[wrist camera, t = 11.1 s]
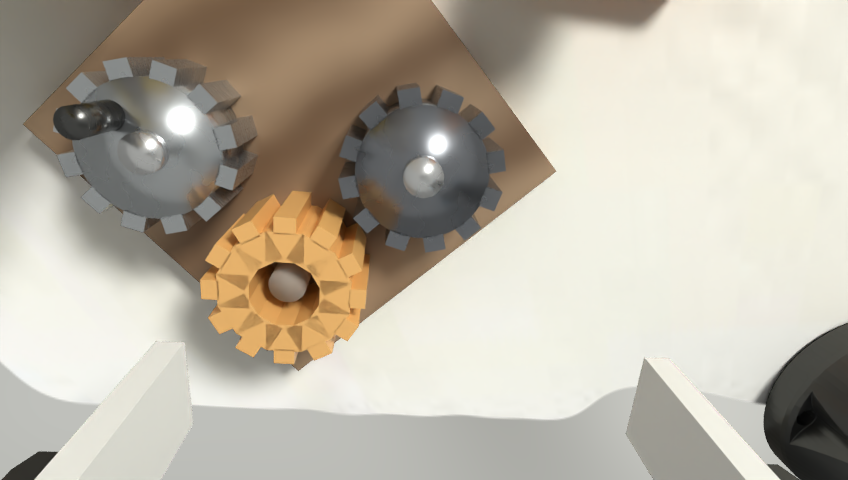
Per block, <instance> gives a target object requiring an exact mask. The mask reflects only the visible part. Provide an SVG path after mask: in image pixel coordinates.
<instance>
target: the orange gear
mask: <svg viewBox="0 0 848 480" xmlns="http://www.w3.org/2000/svg"><path fill="white" fill-rule="evenodd" d="M311 196H312V192H302V191H292V192H291V193H290V195H289V196H288V198H287V199H286V200H285V202H284V203H283V204H282V206H280V204H279V202H278V201H277V199H276V197H275V195H274V194H273V195H270V196H268V197H266V198H264V199H262V200H260V201H258V202H256V203H255V205H254V206H253V207H252V208H251V209H250V210H249V211H248V212H247V213H246V214H243V215H242V216H241V217H240V218H239V219H238V220H237V221H236V222H235V223H234V224H233V225H232V226H231V227H230V229H229V230H228V231H227V232H226V233H225V234H224V235H223V236H222V237H221V238H220V239H219V240H218V241H217V242H216V244H215V245H214V247H213V248H212V250H211V252H210V253H209V255H208V256H207V258H206V260H205V261H207V262H208V263H210V264H212V266H211V267H210V269H209V270H208V271H207V272H206V273H205V274H204V276H203V277H202V278H201V279H200V286H201V299H209V300H217V306H216V307H215V308H214V310H213V311H212V313H211V314H210V316H209V317H208V319H209V320H210V321H211V323H212V324H213V326H214V327H215V329H216V330H217V331H218V333H219V334H221V333H223V332H226V331H228V330H230V329H233V330H234V331H235V332H236V334H238V335H240V336H241V338H240V340H239V342H238V344H237V345H236V347H235V348H236V349H238V350H240V351H242V352H244V353H246V354H248V355H250V356H252V357H253V358H254V356H255V355H256V353H257V352H258V350H259V349H260V348H261V347H262V348H264V349H266V350H274V363H282V364H294V363H295V360H296V357H297V354H298V352H302V351H304V350H308V352H309V353H310V355H311V356H312V358H313V360H314V361H315V360H317V359H319V358H322V357H324V356H326V355H329V354H331V353H332V351H333V346H334V341H335V336H336V335H337V336H339V337H341V338H342V339H344V340H346V341H348V340H349V338H350V337H351V336H352V334H353V333H354V332H355V330H356V329H357V328H358V326H359V319H360V311H361V309H365V305H366V296H367V286H368V277H369V266H370V254H364V253H365V246H366V239H367V238H366V236H365V234H364V232H363V230H362V228H361V226H360V225H359V224H358V223H356V224H354V225H351V226H349V227H347V228H346V226H345V224H344V222H342V220H343V217H344V213H345V210H346V208H344V207H342V206H341V205H339V204H338V203H336V202H335V201H333V200H332V199H329V201H328V202H327V204H326V205H325V207H324V208H323V209H322V208H320V207H318V206H312V205H311ZM274 262H282V263H295V264H296V265H298V266H300V267H301V268H303V269H305V270H306V271H308V272H310V273H311V274H312V276H313V278H314V279H315V281H316V282H314V283H312V284H310V285H308V286H307V289H306V291H305V294H304V295H303V296H302V297H301V298H300V299H299V300H297V301H294V302H283V301H280V300H278V299H277V298H275V297H274V296H273V295H272V293H271V292H270V290H269V285H268V284H269V279H270V277H271V275H272V273H273V271H274V267H273V266H272V263H274Z"/></svg>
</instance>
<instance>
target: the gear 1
mask: <svg viewBox="0 0 848 480" xmlns="http://www.w3.org/2000/svg"><path fill="white" fill-rule="evenodd" d="M102 62H103V64H104V67H105V70H106V71H93V72H81V73H80V74H79V75H78V76H77V77H76V78H75V79H74V80H73V81H72V82H71V83H70V84H69V85H68V87H67V88H66V89H67V90H68V91H69V92H70V93H71V94H72V95H73V96H74V97H75V98H77V99H78V100H79V101H80V102H81V103H80V104H73V105H67V106H62V107H60V108H57V109H56V111H55V113H54V115H53V123H54V127H53V132H56V133H59V134H61V135H62V136H63V137H65V138H67V139H69V140H72V143H73V149H74V150H71V151H68V152H65V153H61V154H58V155H57V157H58V160H59V162H60V164H61V167H62V169H63V171H64V174H65V176H66V177H70V176H76V175H82V174H83V175H84V176H85V178H86V179H87V181H88V182H89V183H90V184H91V186H92V187H91V188H90V189H89V190H88V191H87V192H86V193H85V194H84V195H83V196H82V197H81V198H82V199H83V200H84V201H85V202H87V203H88V204H89V205H90V206H91V207H92V208H93V209H95V210H96V211H97V212H98V213H99V214H100V213H102V212H103V211H105V210H107V209H109V208H111V207H113V206H116V207H118V208H120V209H122V210H124V211H123V217H122V222H121V226H123V227H127V228H130V229H133V230H136V231H140V232H145V231H146V230H148V229H149V228H150V227H152V226H153V225H155V224H156V223H157V222H159V221H160V220H161V222H162V224H163V227H164V230H165V233H166V234H170V233H176V232H182V231H187V230H189V229H190V228H191V227H192V226H193V225H194V224H196V223H197V222H198V221H199V220H200V219H201V218H203V219H204V220H205V221H206V222H207V221H208V220H209V219H210V218H211V217H212V216H213V215H214V214H216V213H217V212H218V211H219V210H220V209H221V208H222V207H223V206H225V205H226V204H227V203H228V202H229V201H230V200H231V199H232V198H233V197H235V196H236V195H237V194H238V193H239V192H240V191H241V190H242V189H243V187H242V186H241V185H240V184H241V183H242V182H243V181H244V180H245V179H247V178H248V177H249V176H250V175H251V174H252V173H253V172H254V168H255V164H256V161H257V157H258V155H257V154H254V153H251V152H248V151H246V150H243V144H244V143H245V142H247V141H249V140H250V139H252V138H254V137H255V136H257V135H258V134H257V130H256V127H255V123H254V120H253V116H252V115H250V116H245V117H239V118H237V117H236V115H235V113H234V111H233V109H232V108H231V105H232V104H234V103H235V102H236V101H237V100H238V99H239V98H240V97H241V95H240V94H239V93H238V92H237V91H236V90H235V89H234V87H233V86H232V85H231V84H230V83H229V82H228V81H227V80H221V81H214V82H208V83H204V79H205V75H206V70H207V67H206V66H203V65H201V64H198V63H195V62H193V61H190V60H187V59H168V60H165V58H164V57H125V58H119V59H113V60H108V61H102Z"/></svg>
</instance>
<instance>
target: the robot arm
mask: <svg viewBox="0 0 848 480" xmlns="http://www.w3.org/2000/svg"><path fill="white" fill-rule="evenodd" d="M192 425H193V417H192V408H191V398H190V389H189V379H188V369H187V360H186V350H185V342H167V341H156V342H155V343H154V344H153V345H152V346H151V348H150V349H149V350H148V351H147V352H146V353H145V354H144V355H143V357H142V358H141V359H140V360H139V361H138V362H137V363H136V365H135V366H134V367H133V368H132V369H131V370H130V371H129V373H128V374H127V375H126V376H125V377H124V378H123V379H122V380H121V382H120V383H119V384H118V385H117V386H116V387H115V388H114V390H113V391H112V392H111V393H110V394H109V395H108V396H107V398H106V399H105V400H104V401H103V402H102V403H101V404H100V405H99V407H98V408H97V409H96V410H95V411H94V413H92V415H91V416H90V417H89V418H88V419H87V420H86V421H85V423H84V424H83V425H82V426H81V427H80V428H79V429H78V431H77V432H76V433H75V434H74V435H73V436H72V437H71V438H70V440H69V441H68V442H67V443H66V444H65V445H64V447H63V448H62V449H61V450H60V451H59V452H37V453H36V454H34V455H33V456H31V457H30V458H28V459H27V460H25V461H24V462H22V463H21V464H19V465H17V466H16V467H14V468H13V469H11V470H10V471H9V472H8V474H7V475H6V476H5V477H4V478H3V479H2V480H161V479H162V477H163V476H164V474H165V472H166V470H167V469H168V467H169V465H170V463H171V462H172V460H173V458H174V456H175V455H176V453H177V451H178V450H179V448H180V446H181V444H182V442H183V441H184V439H185V437H186V436H187V434H188V432H189V430H190V429H191V427H192ZM764 432H765V436H766V439H767V442H768V444H769V446H770V448H771V449H772V451H773V452H774V454H775V455H776V456H777V457H778V458H779V459H780V460H781V461H782V462H783V463H784V464H785V465H786V466H787V467H788V468H789V469H790V470H791V471H792V472H793V473H794V474H795V476H797V477H798V478H799V479H800V480H848V324H846V325H843V326H841V327H839V328H837V329H834V330H833V331H831V332H829V333H827V334H825V335H824V336H822V337H820V338H819V339H817V340H816V341H814V342H813V343H812V344H810V345H809V346H808V347H806V348H805V349H804V350H803V351H802V352H801V353H799V354H798V355H797V356H796V357H795V358H794V359H793V360H792V361H791V362H790V364H789V365H788V366H787V367H786V368H785V369H784V371H783V372H782V373H781V375H780V376H779V378H778V379H777V381H776V383H775V384H774V386H773V388H772V390H771V392H770V395H769V397H768V400H767V403H766V407H765V412H764ZM626 435H627V437H628V438H629V440H630V442H631V443H632V445H633V447H634V448H635V450H636V452H637V453H638V455H639V456H640V458H641V460H642V462H643V463H644V465H645V466H646V468H647V470H648V471H649V473H650V475H651V476H652V478H653V480H799V479H798V478H796V477H795V476H793V475H792V474H790V473H789V472H788V471H786V470H785V469H783V468H782V467H780V466H779V465H774V464H773V465H770V464H765V462H764V461H763V460H762V459H761V458H760V457H759V456H758V455H757V454H756V453H755V451H754V450H753V449H752V448H751V447H750V446H749V445H748V444H747V443H746V442H745V440H744V439H743V438H742V437H741V436H740V435H739V434H738V433H737V432H736V431H735V429H734V428H733V427H732V426H731V425H730V424H729V423H728V422H727V421H726V420H725V418H724V417H723V416H722V415H721V414H720V413H719V412H718V411H717V410H716V409H715V408H714V406H712V404H711V403H710V402H709V401H708V400H707V399H706V398H705V397H704V396H703V394H702V393H701V392H700V391H699V390H698V389H697V388H696V387H695V386H694V384H693V383H692V382H691V381H690V380H689V379H688V378H687V377H686V376H685V375H684V374H683V372H682V371H681V370H680V369H679V368H678V367H677V366H676V365H675V364H674V363H673V361H672V360H671V359H670V358H647V357H644V361H643V365H642V369H641V373H640V377H639V381H638V386H637V390H636V394H635V398H634V402H633V406H632V410H631V415H630V419H629V423H628V427H627V431H626Z"/></svg>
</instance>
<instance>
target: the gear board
mask: <svg viewBox="0 0 848 480" xmlns="http://www.w3.org/2000/svg"><path fill="white" fill-rule="evenodd" d="M125 57H164V58H165V60H168V59H187V60H190V61H193V62H195V63H198V64H201V65H203V66H206V67H207V70H206V75H205V79H204V83H208V82H214V81H221V80H227V81H228V82H229V83H230V84H231V85H232V86H233V87H234V89H235V90H236V91H237V92H238V93H239V94H240V95H241V97H240V98H239V99H238V100H237V101H236V102H235V103H234V104H232V105H231V108H232V109H233V111H234V113H235V115H236V117H237V118H239V117H245V116H250V115H252V116H253V120H254V123H255V127H256V130H257V134H258V135H257V136H255V137H254V138H252V139H250V140H249V141H247V142H245V143H244V144H243V150H246V151H248V152H251V153H254V154H257V155H258V157H257V161H256V164H255V168H254V172H253V173H252V174H251V175H250V176H249V177H248V178H247V179H245V180H244V181H243V182H242V183H241V184H240V185H241V186H242V187H243V189H242V190H241V191H240V192H239V193H238V194H237V195H236V196H235V197H233V198H232V199H231V200H230V201H229V202H228V203H227V204H226V205H225V206H223V207H222V208H221V209H220V210H219V211H218V212H217V213H216V214H214V215H213V216H212V217H211V218H210V219H209V220H208V221H207V222H206V221H205V220H204V219H203V218H201V219H200V220H199V221H198V222H197V223H196V224H194V225H193V226H192V227H191V228H190V229H189V230H187V231H182V232H176V233H170V234H166V233H165V230H164V227H163V224H162V222H161V220H160V221H159V222H157V223H156V224H155V225H153V226H152V227H150V228H149V229H148V230H146V231H145V232H144V233H145V234H146V235H147V236H148V237H149V238H150V239H152V240H153V241H154V242H155V243H156V244H157V245H158V246H159V247H161V248H162V249H163V250H164V251H165V252H166V253H167V254H168V255H169V256H171V257H172V258H173V259H174V260H175V261H176V262H177V263H178V264H180V265H181V266H182V267H183V268H184V269H185V270H186V271H187V272H188V273H190V274H191V275H192V276H193V277H194V278H195V279H196V280H197V281H198V282H200V279H201V278H202V277H203V276H204V274H205V273H206V272H207V271H208V270H209V269H210V267H211V266H212V264H210V263H208V262H207V261H205V260H206V258H207V256H208V255H209V253H210V252H211V250H212V248H213V247H214V245H215V244H216V242H217V241H218V240H219V239H220V238H221V237H222V236H223V235H224V234H225V233H226V232H227V231H228V230H229V229H230V227H231V226H232V225H233V224H234V223H235V222H236V221H237V220H238V219H239V218H240V217H241V216H242V215H243V214H246V213H247V212H248V211H249V210H250V209H251V208H252V207H253V206H254V205H255V203H256V202H258V201H260V200H262V199H264V198H266V197H268V196H270V195H273V194H274V195H275V197H276V199H277V201H278V202H279V204H280V206H282V204H283V203H284V202H285V200H286V199H287V198H288V196H289V195H290V193H291V192H292V191H302V192H312V196H311V205H312V206H318V207H320V208H322V209H323V208H324V207H325V205H326V204H327V202H328V201H329V199H332V200H333V201H335V202H336V203H338V204H339V205H341V206H342V207H344V208H346V210H345V213H344V217H343V220H342V222H344V224H345V226H346V228H347V227H349V226H351V225H354V224H356V223H357V222H356V221H355V220H354V219H353V216H354V212H355V208H356V204H357V200H358V197H354V198H348V199H343V197H342V193H341V189H340V184H339V180H338V178H339V175H340V173H341V171H342V169H343V166H344V164H345V162H350V161H351V160H348V159H345V158H342V157H339V155H340V152H341V149H342V146H343V143H344V140H345V137H346V134H347V133H348V131H349V129H350V127H351V126H352V125H355V126H358V127H360V128H363V129H366V130H367V128H368V127H367V125H366V124H365V123H364V122H363V121H362V120H361V118H360V117H359V114H360V113H361V111H362V109H363V107H365V106H366V105H367V104H368V103H369V102H370V101H372V100H373V99H374V98H375V97H376V96H377V95H379V96H380V98H381V99H382V100H383V101H384V102H385V104H386V105H387V106H388V107H389V106H391V105H393V104H395V103H397V102H399V99H398V94H397V87H396V86H399V85H405V84H411V83H417V84H418V85H419V87H420V91H421V97H422V99H430V100H431V97H432V95H433V92H434V89H435V86H436V85H438V86H441V87H443V88H446V89H449V90H451V91H454V92H456V93H457V94H459V95H461V96H462V97H464V100H463V102H462V105H461V108H460V110H459V113H460V112H461V111H462V110H464V109H465V108H466V107H467V106H468V105H470V104H471V105H473V106H475V107H476V108H478V109H479V110H481V111H482V112H483V113H484V114H485V116H486V117H487V118H488V120H489V121H490V122H491V124H492V125H493V126H494V128H495V130H494V131H493V132H492V133H490V134H489V135H488V136H487V137H485V138H488V137H490V138H491V139H492V140H493V141H494V142H495V143H497V144H498V145H499V146H500V147H501V148H502V149H504V156H505V166H506V171H503V172H498V173H492V174H489V176H490V177H491V178H492V179H493V181H494V182H495V183H496V184H497V186H498V187H499V188H500V189H501V191H502V192H503V193H502V195H501V197H500V200H499V202H498V204H497V206H496V209H495V211H491V210H489V209H486V208H483V207H480V206H479V207H478V209H477V210H476V212H475V213H474V215H475V217H476V219H477V221H478V223H479V225H480V227H481V229H482V228H484V227H485V226H486V225H488V224H489V223H490V222H491V221H493V220H494V219H495V218H497V217H498V216H499V215H501V214H502V213H503V212H504V211H506V210H507V209H508V208H510V207H511V206H512V205H513V204H515V203H516V202H517V201H519V200H520V199H521V198H522V197H524V196H525V195H526V194H528V193H529V192H530V191H532V190H533V189H534V188H535V187H537V186H538V185H539V184H541V183H542V182H543V181H544V180H546V179H547V178H548V177H550V176H551V175H552V174H554V173H555V172H556V170H555V169H554V167H553V166H552V165H551V163H550V162H549V161H548V159H547V158H546V157H545V155H544V154H543V152H542V151H541V150H540V148H539V147H538V146H537V144H536V143H535V141H534V140H533V139H532V137H531V136H530V135H529V133H528V132H527V131H526V129H525V128H524V126H523V125H522V124H521V122H520V121H519V120H518V118H517V117H516V115H515V114H514V113H513V111H512V110H511V109H510V107H509V106H508V105H507V103H506V102H505V100H504V99H503V98H502V96H501V95H500V94H499V92H498V91H497V89H496V88H495V87H494V85H493V84H492V83H491V81H490V80H489V79H488V77H487V76H486V74H485V73H484V72H483V70H482V69H481V68H480V66H479V65H478V64H477V62H476V61H475V59H474V58H473V57H472V55H471V54H470V53H469V51H468V50H467V48H466V47H465V46H464V44H463V43H462V42H461V40H460V39H459V38H458V36H457V35H456V33H455V32H454V31H453V29H452V28H451V27H450V25H449V24H448V22H447V21H446V20H445V18H444V17H443V16H442V14H441V13H440V12H439V10H438V9H437V7H436V6H435V5H434V3H433V2H432V1H431V0H143V1H142V2H141V3H140V4H139V5H138V6H137V7H136V8H135V9H134V10H133V11H132V12H131V13H130V14H129V16H128V17H127V18H126V19H125V20H124V21H123V22H122V23H121V24H120V25H119V26H118V27H117V28H116V29H115V30H114V31H113V32H112V33H111V34H110V35H109V36H108V37H107V38H106V39H105V40H104V41H103V42H102V43H101V44H100V45H99V46H98V47H97V48H96V49H95V51H94V52H93V53H92V54H91V55H90V56H89V57H88V58H87V59H86V60H85V61H84V62H83V63H82V64H81V65H80V66H79V67H78V68H77V69H76V70H75V71H74V72H73V73H72V74H71V75H70V76H69V77H68V78H67V79H66V80H65V81H64V82H63V83H62V84H61V86H60V87H59V88H58V89H57V90H56V91H55V92H54V93H53V94H52V95H51V96H50V97H49V98H48V99H47V100H46V101H45V102H44V103H43V104H42V105H41V106H40V107H39V108H38V109H37V110H36V111H35V112H34V113H33V114H32V115H31V116H30V117H29V118H28V119H27V121H26V122H25V123H24V124H23V125H24V126H25V127H27V128H28V129H29V130H30V131H31V132H32V133H33V134H34V135H35V136H37V137H38V138H39V139H40V140H41V141H42V142H43V143H44V144H45V145H47V146H48V147H49V148H50V149H51V150H52V151H53V152H54V153H56V154H57V155H58V154H61V153H65V152H68V151H71V150H74V149H73V143H72V140H69V139H67V138H65V137H63V136H62V135H61V134H59V133H56V132H53V127H54V123H53V115H54V113H55V111H56V109H57V108H60V107H62V106H67V105H73V104H80V103H81V102H80V101H79V100H78V99H77V98H75V97H74V96H73V95H72V94H71V93H70V92H69V91H68V90H67V89H66V88H67V87H68V85H69V84H70V83H71V82H72V81H73V80H74V79H75V78H76V77H77V76H78V75H79V74H80V73H81V72H93V71H106V70H105V67H104V64H103V62H102V61H108V60H113V59H119V58H125ZM459 113H458V114H459ZM80 176H81V177H82V178H83V179H85V180H86V181H87V179H86V178H85V176H84V175H83V174H82V175H80ZM87 182H88V181H87ZM88 183H89V182H88ZM89 184H90V183H89ZM90 185H91V184H90ZM115 207H116V206H115ZM116 208H117V209H118V210H119V211H120V212H121V213H123V211H124V210H122V209H120V208H118V207H116ZM361 228H362V227H361ZM481 229H479V230H478V231H477V232H479V231H480V230H481ZM362 230H363V228H362ZM385 230H386V228H385V227H384V226H382V225H381V224H378V225H377V226H376V227H375V228H373V229H372V230H371V231H370V232H369V233H366V232H365V231H364V230H363V232H364V234H365V236H366V238H367V239H366V246H365V253H364V254H370V266H369V277H368V286H367V296H366V305H365V309H361V311H360V319H359V324H360V323H361V322H362V321H363V320H365V319H366V318H367V317H369V316H370V315H371V314H373V313H374V312H375V311H376V310H378V309H379V308H380V307H382V306H383V305H384V304H385V303H387V302H388V301H389V300H391V299H392V298H393V297H394V296H396V295H397V294H398V293H400V292H401V291H402V290H404V289H405V288H406V287H407V286H409V285H410V284H411V283H413V282H414V281H415V280H416V279H418V278H419V277H420V276H422V275H423V274H424V273H426V272H427V271H428V270H429V269H431V268H432V267H433V266H435V265H436V264H437V263H438V262H440V261H441V260H442V259H444V258H445V257H446V256H447V255H449V254H450V253H451V252H453V251H454V250H455V249H457V248H458V247H459V246H460V245H462V244H463V243H464V242H466V241H467V240H468V239H469V238H471V237H472V236H473V235H475V234H476V233H477V232H476V233H474V234H473V235H472V236H470V237H469V238H468V239H466V240H464V239H463V238H462V237H461V236H460V235H459V233H458V232H457V231H456V230H453V231H451V232H449V233H446V234H443V236H444V242H445V248H446V249H444V250H438V251H433V252H427V253H425V248H424V242H423V238H413V237H410V239H409V241H408V244H407V246H406V249H405V251H402V250H399V249H396V248H393V247H390V246H387V245H385ZM272 266H273V267H274V271H273V273H272V275H271V277H270V279H269V284H268V285H269V290H270V292H271V293H272V295H273V296H274V297H275V298H277V299H278V300H280V301H283V302H294V301H297V300H299V299H300V298H301V297H302V296H303V295H304V294H305V291H306V289H307V286H308V285H310V284H312V283H314V282H316V281H315V279H314V278H313V276H312V274H311V273H310V272H308V271H306V270H305V269H303V268H301V267H300V266H298V265H296V264H295V263H282V262H274V263H272ZM340 338H341V337H339V336H337V335H336V336H335V341H334V343H335V342H336V341H338V340H339V339H340ZM312 360H313V358H312V356H311V355H310V353H309V352H308V350H304V351H302V352H298V354H297V357H296V360H295V363H294V364H291V365H292V366H293V367H295V368H296V369H297V370H298V371H299V370H300V369H301V368H303V367H304V366H305V365H307V364H308V363H309V362H310V361H312Z"/></svg>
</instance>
